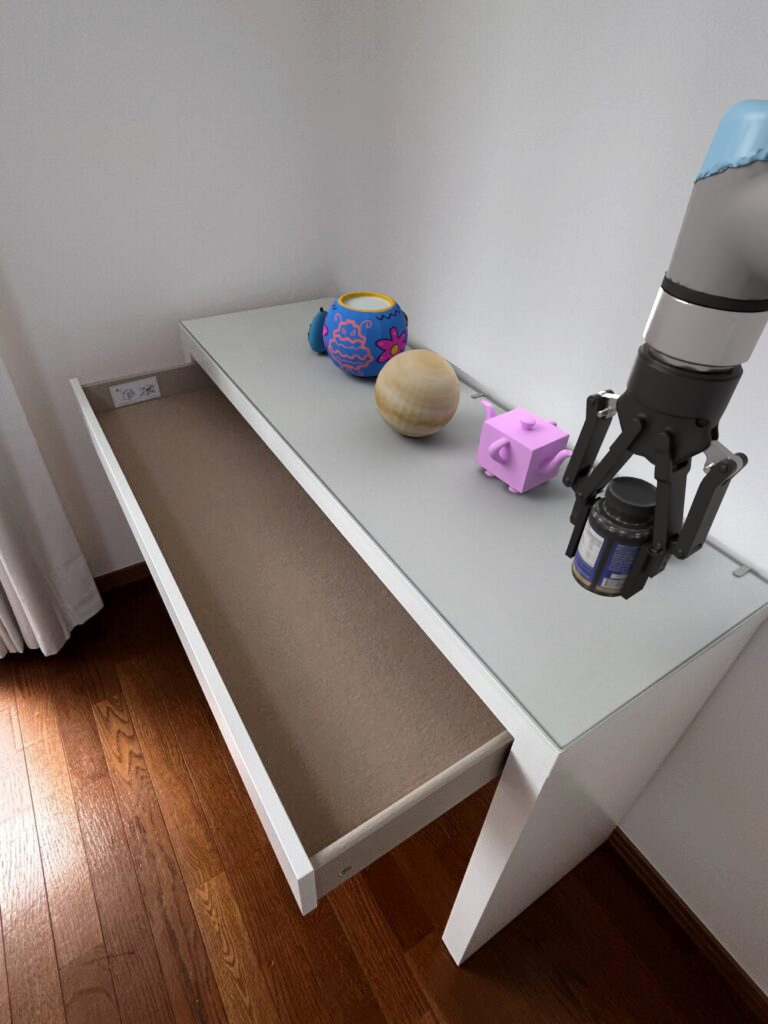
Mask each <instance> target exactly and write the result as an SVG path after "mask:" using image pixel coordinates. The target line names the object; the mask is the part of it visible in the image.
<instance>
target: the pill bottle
mask: <svg viewBox="0 0 768 1024" xmlns="http://www.w3.org/2000/svg"><path fill="white" fill-rule="evenodd" d="M656 489H657V486H655V485H654V484H653V483H651V482H649V481H647V480H644V479H642V478H639V477H634V476H625V475H624V476H617V477H613V479H612V480H611V481H610V482H609V483H608V484H607V486H606V490H605V491H604V497H601V499H599V500H598V501H597V502H596V503H595V504H594V505H593V506H592V509H591V511H590V514H589V517H588V520H587V523H586V526H585V528H584V531H583V534H582V537H581V540H580V543H579V546H578V549H577V551H576V554H575V556H574V557H573V561H572V563H571V574H572V578H573V579H574V581H576V583H577V584H578V585H579V586H580V587H582V588H583V589H584V590H586V591H587V592H590V593H592V594H595V595H596V596H601V597H607V598H617V597H621V596H620V593H621V591H622V589H623V587H624V585H625V582H626V580H627V578H628V576H629V574H630V571H631V569H632V567H633V565H634V562H635V560H636V558H637V556H638V554H639V551H640V549H641V547H642V545H643V544H645V543H647V542H648V541H650V540H652V539H653V530H654V516H655V503H656Z"/></svg>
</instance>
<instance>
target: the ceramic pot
mask: <svg viewBox="0 0 768 1024" xmlns="http://www.w3.org/2000/svg"><path fill="white" fill-rule="evenodd" d="M327 312H328V313H327V316H326V318H325V322H324V328H323V338H324V343H325V347H326V349H327V350H326V352H327V354H328V356H329V359H330V360H331V361H332V363H333V364H334V365H335V366H336V367H337V368H338V369H339V370H341V371H343V372H344V373H347V374H350V375H352V376H357V377H364V378H365V377H366V378H369V377H376V376H377V377H378V375H379V373H380V371H381V370H382V368H383V367H384V366H385V364H386V363H387V362H388V361H389V360H391V359H392V358H393V357H394V356H396V355H398V354H400V353H402V352H405V351H406V347H407V343H408V338H409V330H408V327H409V317H408V315H407V313H406V312H405V311H404V310H402V308H401V306H400V304H399V303H398V302H397V301H396V300H395V299H393V298H392V297H390V296H388V295H385V294H382V293H378V292H372V291H353V292H348V293H345V294H343V295H341V296H339V297H338V298H337V299H336V300H334V301H333V303H332V304H331V305H330V308H329V309H328V311H327Z"/></svg>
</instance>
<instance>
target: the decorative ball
mask: <svg viewBox="0 0 768 1024" xmlns="http://www.w3.org/2000/svg"><path fill="white" fill-rule="evenodd" d="M460 398H461V386H460V380H459V378H458V376H457V372H456V371H455V369H454V367H453V366H452V365H451V364H450V362H448V361H447V359H445V357H443V356H442V355H440V354H438V353H435V352H434V351H431V350H428V349H421V348H420V349H419V348H418V349H409V350H404V352H402V353H400V354H398V355H396V356H394V357H393V358H392V359H391V360H389V361H388V362H387V363H386V364H385V366H384V367H383V368H382V370H381V371H380V373H379V375H377V377H376V380H375V385H374V403H375V407H376V410H377V412H378V414H379V416H380V417H381V419H382V421H383V422H384V423H385V424H386V425H387V426H388V427H389V428H391V429H392V430H393V431H395V432H396V433H399V434H401V435H404V436H408V437H411V438H412V437H413V438H421V437H422V438H423V437H427V436H430V435H434V434H435V433H437V432H439V431H441V430H442V429H443V428H444V427H446V426H447V424H449V422H451V421H452V420H453V418H454V416H455V414H456V412H457V410H458V407H459V405H460Z"/></svg>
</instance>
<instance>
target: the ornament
mask: <svg viewBox="0 0 768 1024" xmlns="http://www.w3.org/2000/svg"><path fill="white" fill-rule="evenodd" d="M327 313H328V311H327V310H325V309H324V307H323V306H320V308H319V311H318V312H317V313H316V314H315V316H314V317H313V318H312V321H311V323H309V329H308V332H307V341H308V345H309V347H310V349H311V350H312V351H313V352H315V353H317V354H318V353H324V352H327V349H326V347H325V343H324V338H323V328H324V322H325V318H326V316H327Z"/></svg>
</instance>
